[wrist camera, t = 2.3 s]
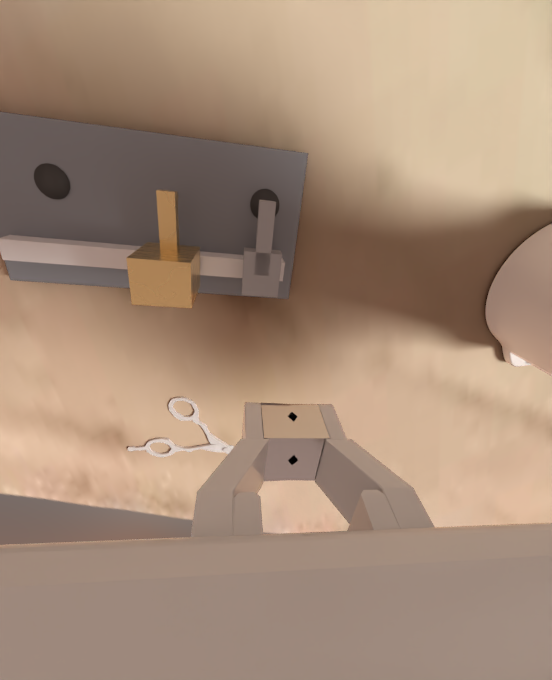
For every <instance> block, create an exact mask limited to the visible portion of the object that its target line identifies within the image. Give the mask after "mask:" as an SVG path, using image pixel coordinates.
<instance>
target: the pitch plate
mask: <svg viewBox="0 0 552 680" xmlns="http://www.w3.org/2000/svg"><path fill="white" fill-rule="evenodd" d="M307 158H308V153H302V152H295V151H288V150H280V149H273V148H265V147H258V146H251V145H243V144H236V143H228V142H221V141H214V140H206V139H199V138H191V137H184V136H177V135H169V134H162V133H154V132H147V131H140V130H132V129H125V128H117V127H110V126H103V125H95V124H88V123H80V122H73V121H65V120H58V119H51V118H43V117H36V116H28V115H21V114H14V113H6V112H0V253H1V256H2V259H3V260H4V261H5V264H6V267H7V270H8V274H9V277H10V280H17V281H31V282H46V283H61V284H75V285H90V286H104V287H119V288H130V285H129V277H128V268H127V260H126V258H127V257H128V256H129V255H131V254H132V253H133V252H135V251H136V250H137V249H139V248H140V247H141V246H143V245H144V244H145V243H147V242H152V243H160V240H159V225H158V210H157V196H156V190H159V189H161V190H170V191H177V193H178V195H179V198H178V219H179V245H186V246H197V247H200V287H199V290H198V293H206V294H221V295H235V296H250V297H264V298H279V299H289V291H290V284H291V276H292V269H293V262H294V254H295V247H296V239H297V232H298V225H299V217H300V210H301V202H302V195H303V188H304V180H305V173H306V165H307Z"/></svg>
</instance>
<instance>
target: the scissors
mask: <svg viewBox="0 0 552 680" xmlns="http://www.w3.org/2000/svg"><path fill="white" fill-rule="evenodd" d="M179 400H180V401H186V402H188V403H190V404H191V405H192V406H193V408H194V411H195V412H194V413H193V415H191V416H184V415H182V414H180V413H178V412H177V411H176V410H175V409H174V408H173V404H174V403H175V402H176V401H179ZM168 406H169V411H170V412H171V413H172V414H173V415H174V417H176V418H177V419H179V420H192V421H193V422H194V423H196V424H198V425H200V426H201V427H202V429H203V430H204V432H205V433H206V435H207V438H208V440H209V442H210V443H209V444H203V445H198V446H192V447H183V446H179V445H176V444H174V443H173V442H172V441H171V440H170V439H169V438H155V439H151V440H149V441H148V442H147V444H146V445H145V446H136V447H135V446H129V447H128V451H135V450H146V451H147V452H148V453H149V454H151V455H153V456H157V457H166V456H170V455H172V454H173V453H175V452H178V451H182V450H183V451H187V452H191V451H193V450H198V449H203V450H207V451H212V452H225V453H227V454H229V453H230V452H231V450H232V449H233V448H234V447H235V446H232V445H228V444H227V443H225V442H224V441H222V440H220V439H219V438H217V437H216V436H214V435H213V434H212V433H210V432H209V430H208V428H207V425H206V424H205V423H203V422H201V421H199V415H198V414H199V410H198V407H197V405H196V404H195V403H194V402H193V401H192V400H191V399H188V398H186V397H175V398H172V399H171V400H170V402H169V405H168ZM154 442H162V443H165V444H167V445H169V446H170V447H171V449H170V451H169V452H165V453H159V452H155V451H153V450H152V449H151V448H150V445H151V444H152V443H154Z"/></svg>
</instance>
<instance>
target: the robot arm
mask: <svg viewBox="0 0 552 680" xmlns="http://www.w3.org/2000/svg"><path fill="white" fill-rule="evenodd" d="M485 312H486V321H487V325H488V327H489V329H490V331H491V333H492V334H493V335H494V337H495V338H496V339H497V340H498V341H499V342H500V343H501V345H502V350H503V356H504V359H505V361H506V362H508V363H509V364H511V365H513V366H526V365H533V366H535V367H537V368H538V369H540V370H542V371H544V372H545V373H547V374H549V375H551V376H552V223H551V224H549V225H547V226H546V227H544V228H542V229H541V230H539V231H537V232H536V233H535V234H533V235H532V236H531V237H529V238H528V239H527V240H525V241H524V242H523V243H522V244H521V245H520V246H519V247H518V248H517V249H516V250H515V251H514V252H513V253H512V254H511V255H510V256H509V258H508V259H507V260H506V261H505V263H504V264H503V265H502V267H501V268H500V270H499V272H498V273H497V275H496V277H495V279H494V281H493V283H492V285H491V287H490V290H489V293H488V297H487V301H486V311H485ZM280 480H315V482H316V484H317V485H318V486H319V487H320V488H321V490H322V491H323V492H324V493H325V495H326V496H327V497H328V498H329V499H330V501H331V502H332V503H333V504H334V506H335V507H336V508H337V509H338V510H339V512H340V513H341V514H342V515H343V517H344V518H345V519H346V520H347V521H348V523H349V524H350V525H349V528H348V530H347V531H335V532H310V533H285V534H263V528H262V514H261V500H260V496H259V495H258V494H257V493H258V492H259V490H260V488H261V486H262V484H263V481H280ZM0 680H552V523H532V524H507V525H482V526H457V527H434V525H433V523H432V521H431V520H430V518H429V516H428V514H427V512H426V510H425V509H424V507H423V505H422V503H421V501H420V499H419V498H418V496H417V494H416V492H415V490H414V488H413V487H411V486H410V485H409V484H408V483H406V482H405V481H404V480H402V479H401V478H400V477H399V476H397V475H396V474H395V473H394V472H392V471H391V470H390V469H388V468H387V467H386V466H385V465H383V464H382V463H381V462H380V461H378V460H377V459H376V458H374V457H373V456H372V455H371V454H369V453H368V452H367V451H366V450H364V449H363V448H362V447H360V446H359V445H358V444H357V443H355V442H354V441H353V440H352V439H347V438H346V436H345V433H344V431H343V428H342V426H341V423H340V421H339V418H338V416H337V414H336V411H335V409H334V406H333V405H332V404H317V405H316V404H277V403H247V402H245V405H244V417H243V429H242V439H240V441H239V442H238V443H237V444H236V446H235V447H234V448H233V449H232V450H231V452H230V453H229V454H228V455H227V456H226V458H225V459H224V460H223V461H222V462H221V464H220V465H219V466H218V467H217V468H216V470H215V471H214V472H213V473H212V475H211V476H210V477H209V478H208V479H207V481H206V482H205V483H204V484H203V485H202V487H201V488H200V489H199V490H198V491H197V496H196V503H195V510H194V517H193V525H192V532H191V537H186V538H161V539H136V540H114V541H113V540H112V541H87V542H62V543H39V544H38V543H37V544H13V545H0Z"/></svg>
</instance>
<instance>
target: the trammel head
mask: <svg viewBox="0 0 552 680" xmlns="http://www.w3.org/2000/svg"><path fill="white" fill-rule="evenodd" d="M156 196H157V210H158V225H159V240H160V243H152V242H147V243H145V244H144V245H143V246H141V247H140V248H139V249H137V250H136V251H135V252H133V253H132V254H131V255H129V256H128V257H127V258H126V260H127V268H128V277H129V285H130V293H131V302H132V305H147V306H163V307H179V308H192V306H193V304H194V301H195V298H196V296H197V293H198V290H199V287H200V247H197V246H186V245H179V219H178V198H179V195H178V193H177V191H170V190H161V189H159V190H156Z"/></svg>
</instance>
